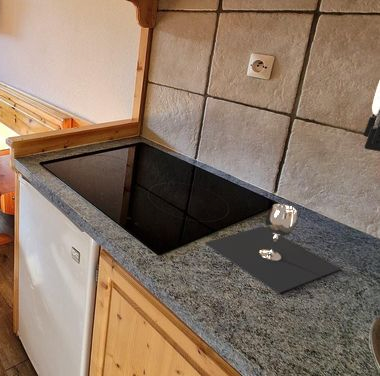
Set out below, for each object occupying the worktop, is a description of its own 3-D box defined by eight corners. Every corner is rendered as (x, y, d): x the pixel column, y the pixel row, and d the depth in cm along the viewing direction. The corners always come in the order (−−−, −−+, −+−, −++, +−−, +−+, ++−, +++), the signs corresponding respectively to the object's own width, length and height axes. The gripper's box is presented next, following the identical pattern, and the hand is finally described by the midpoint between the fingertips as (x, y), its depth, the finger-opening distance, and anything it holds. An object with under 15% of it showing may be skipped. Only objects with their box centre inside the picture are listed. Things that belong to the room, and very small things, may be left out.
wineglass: (262, 245, 96) (276, 200, 91) (288, 255, 93) (303, 209, 87) (252, 253, 93) (265, 207, 88) (278, 265, 89) (293, 217, 84)
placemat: (340, 270, 89) (341, 268, 89) (279, 294, 81) (279, 292, 81) (262, 227, 105) (262, 225, 105) (204, 243, 97) (205, 242, 97)
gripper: (444, 58, 64) (401, 160, 71) (429, 49, 76) (394, 136, 84) (385, 54, 67) (350, 151, 75) (380, 46, 80) (350, 129, 88)
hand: (373, 143), depth 79 cm, fingers open, 9 cm apart
